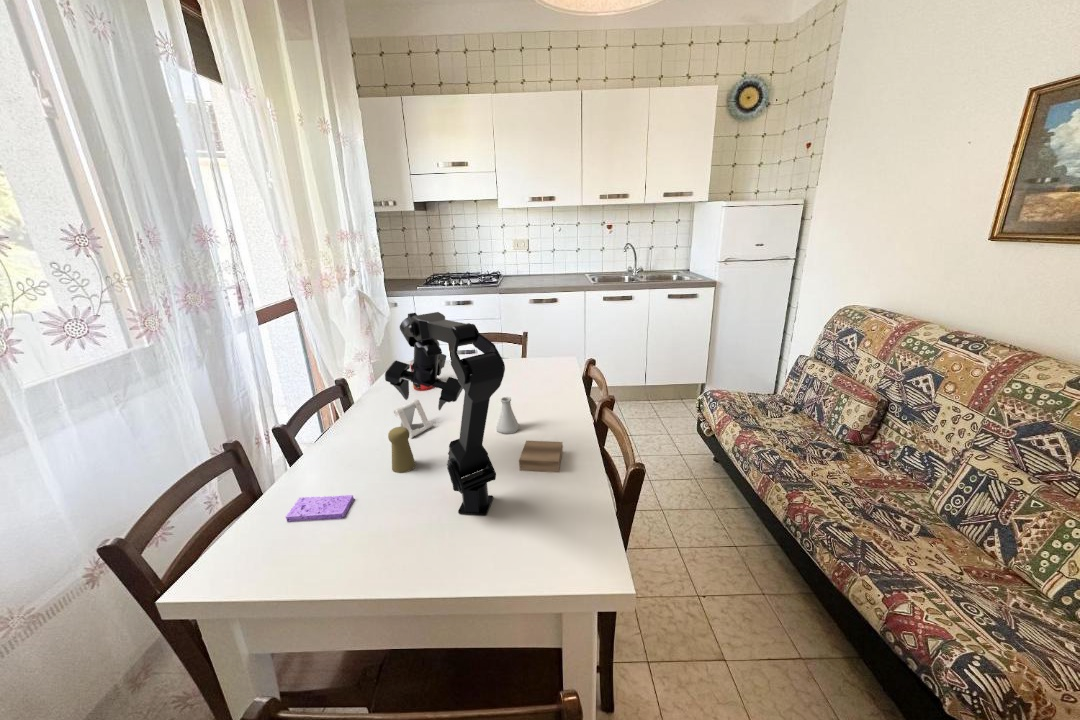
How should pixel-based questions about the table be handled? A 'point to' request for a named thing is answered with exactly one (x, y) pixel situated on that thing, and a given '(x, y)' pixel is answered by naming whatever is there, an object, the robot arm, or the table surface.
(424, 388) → the canned food
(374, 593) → the table surface
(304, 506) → the sponges
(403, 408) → the portable electronic device stand
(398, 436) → the olive pawn
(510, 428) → the flask
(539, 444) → the walnut block
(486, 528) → the table surface
